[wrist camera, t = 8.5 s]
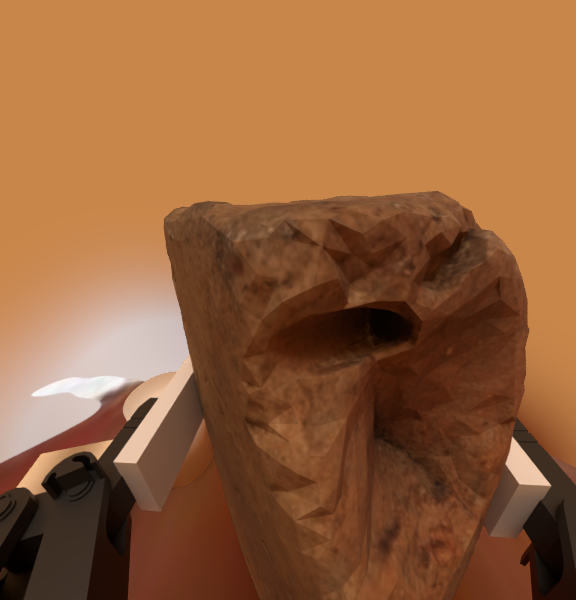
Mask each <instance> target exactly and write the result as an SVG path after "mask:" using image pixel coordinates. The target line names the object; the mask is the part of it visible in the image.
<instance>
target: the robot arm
mask: <svg viewBox="0 0 576 600" xmlns="http://www.w3.org/2000/svg"><path fill="white" fill-rule="evenodd" d="M203 418H204V415H203V411H202V406H201V402H200V397H199V393H198V389H197V385H196V381H195V376H194V371H193V367H192V362H191V358H190V355H189V356H188V357H187V359H186V360H185V362H184V363H183V364H182V366H181V367H180V369H179V370H178V371H177V373H176V374H175V376H174V377H173V378H172V380H171V381H170V383H169V384H168V386H167V387H166V388H165V390H164V391H163V393H162V394H161V395H160V397H159V398H149V399H148V400H147V401H145V402H144V403H143V404H142V405H140V406H139V407H138V408H137V410H136V411H135V412H134V414H133V415H132V416H131V418H130V420H128V421H127V423H126V424H125V425H124V428H123V429H121V431H120V432H119V433H118V435H117V436H116V437H115V438H114V440H113V441H112V442H111V444H110V445H109V446H108V448H107V449H106V450H105V451H104V453H103V454H102V455H101V457H100V458H99V459H98V460H97V458H96V457H95V455H94V454H92V453H91V452H86V451H83V452H79V453H75V454H73V455H71V456H69V457H67V458H65V459H64V460H62V461H61V462H60V463H58V464H57V465H56V466H54V467H53V468H52V470H51V471H50V472H49V473H48V474H47V475H46V476H45V478H44V480H43V482H42V483H41V485H42V486H43V488H44V489H45V490H46V491H47V492H43V493H40V494H36V495H33V494H32V493H31V491H30V490H28V489H27V488H25V487H21V488H15V489H12V490H10V491H7V492H5V493H3V494H2V495H0V572H1V570H2V569H3V567H4V569H3V570H2V572H1V574H0V600H128V582H129V562H130V542H131V522H132V520H131V514H130V511H131V509H132V507H133V505H134V503H135V501H136V503H137V504H138V506H139V508H140V510H147V511H160V512H161V510H162V508H163V506H164V504H165V501H166V499H167V497H168V495H169V493H170V490H171V488H172V486H173V484H174V482H175V480H176V477H177V475H178V473H179V471H180V469H181V466H182V464H183V462H184V460H185V458H186V455H187V453H188V451H189V449H190V447H191V444H192V442H193V440H194V438H195V436H196V434H197V431H198V429H199V427H200V425H201V423H202V420H203ZM483 524H484V526H485V528H486V530H487V532H488V534H489V536H494V537H507V538H517V536H518V535H519V534H520V532H521V531H522V529H523V528H524V530H525V532H526V533H527V535H528V537H529V538H530V540H531V542H532V543H531V544H530V546H529V547H528V548H527V550H526V551H525V552H524V554H523V555H522V557H521V562H520V564H522V565H524V566H526V565H527V563H528V562H529V561H530V572H531V585H532V598H533V600H576V485H575V484H574V483H573V482H572V481H571V479H570V478H569V477H568V476H567V475H566V474H565V472H564V471H563V470H562V469H561V468H560V467H559V466H558V464H557V463H556V462H555V461H554V460H553V459H552V458H551V456H550V455H549V454H548V453H547V452H546V451H545V450H544V448H542V446H541V445H539V444H538V442H537V440H536V439H535V438H534V437H533V436H532V435H531V434H530V433H528V430H527V429H526V428H525V427H524V425H523V424H522V423H521V422H520V421H519V420H518V419H517V417H516V420H515V424H514V430H513V436H512V441H511V447H510V452H509V455H508V458H507V461H506V463H505V466H504V469H503V472H502V475H501V479H500V483H499V486H498V488H497V490H496V492H495V494H494V496H493V498H492V501H491V504H490V506H489V509H488V512H487V514H486V517H485V520H484V523H483Z"/></svg>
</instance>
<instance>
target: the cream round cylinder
mask: <svg viewBox="0 0 576 600" xmlns="http://www.w3.org/2000/svg"><path fill="white" fill-rule="evenodd" d="M176 373H177V372H169V373H165V374H162V375H158V376H156V377H153V378H151V379H149V380H147V381H146V382H144V383H142V384H141V385H140V386H138V387H137V388H136V389H135V390H134V391H133V392H132V393H131V394H130V395H129V396H128V398H127V399H126V401H125V403H124V406H123V413H124V416H125V418H126V420H127V421H128V420H130V418H131V416H132V415H133V414H134V412H135V411H136V410H137V408H138V407H139V406H140V405H142V404H143V403H144V402H145V401H147V400H148V399H149V398H159V397H160V395H161V394H162V393H163V391H164V390H165V388H166V387H167V386H168V384H169V383H170V381H171V380H172V378H173V377H174V376H175V374H176ZM212 456H213V449H212V445H211V442H210V438H209V435H208V431H207V427H206V423H205V419H204V418H203V420H202V423H201V425H200V427H199V429H198V431H197V434H196V436H195V438H194V440H193V442H192V444H191V447H190V449H189V451H188V453H187V455H186V458H185V460H184V462H183V464H182V466H181V469H180V471H179V473H178V475H177V477H176V480H175V482H174V484H173V486H172V488H179V487H182V486H185V485H187V484H189V483H191V482H193V481H194V480H196V479H197V478H198V477H199V476H200V475H201V474H202V473H203V472H204V471H205V470H206V468H207V467H208V465H209V464H210V462H211V459H212Z"/></svg>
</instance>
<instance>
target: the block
mask: <svg viewBox="0 0 576 600" xmlns="http://www.w3.org/2000/svg"><path fill="white" fill-rule="evenodd" d="M164 232H165V240H166V247H167V253H168V256H169V258H170V262H171V269H172V277H173V278H172V279H173V283H174V286H175V291H176V294H177V299H178V302H179V306H180V309H181V314H182V320H183V325H184V330H185V335H186V339H187V344H188V349H189V353H190V358H191V362H192V367H193V371H194V376H195V381H196V385H197V389H198V393H199V397H200V402H201V406H202V411H203V415H204V419H205V423H206V427H207V431H208V435H209V438H210V442H211V445H212V449H213V453H214V457H215V461H216V465H217V469H218V472H219V476H220V479H221V483H222V486H223V490H224V493H225V497H226V501H227V504H228V508H229V511H230V514H231V518H232V521H233V525H234V528H235V531H236V534H237V537H238V540H239V544H240V547H241V550H242V553H243V556H244V559H245V561H246V564H247V567H248V570H249V573H250V575H251V578H252V581H253V583H254V586H255V588H256V591H257V594H258V596H259V599H260V600H453V598H454V596H455V593H456V591H457V589H458V587H459V585H460V582H461V580H462V578H463V575H464V573H465V571H466V568H467V566H468V563H469V561H470V559H471V556H472V554H473V551H474V548H475V544H476V541H477V540H478V538H479V535H480V532H481V530H482V527H483V523H484V520H485V517H486V514H487V512H488V509H489V506H490V504H491V501H492V498H493V496H494V494H495V492H496V490H497V488H498V486H499V483H500V479H501V475H502V472H503V469H504V466H505V463H506V461H507V458H508V455H509V452H510V447H511V441H512V436H513V430H514V424H515V420H516V416H517V413H518V410H519V407H520V404H521V400H522V397H523V393H524V379H525V375H526V362H525V361H526V358H525V346H526V342H527V338H528V334H529V328H528V325H527V297H526V292H525V288H524V283H523V279H522V276H521V273H520V270H519V267H518V265H517V262H516V259H515V257H514V255H513V254H512V253H511V251H510V250H509V248H508V247H507V246H506V245H505V243H504V242H503V241H502V240H501V239H500V238H499V237H498V236H497V235H496V234H495V233H494V232H493V231H489V230H482V229H481V228H480V227H479V225H478V224H477V223H476V222H475V219H474V217H473V214H472V211H470V210H468V209H467V208H465V207H463V206H461V205H460V204H459V203H458V202H457V201H455V200H453V199H452V198H450V197H448V196H447V195H445V194H443V193H441V192H438V191H432V192H420V193H407V194H395V195H385V196H375V197H368V196H340V197H333V198H328V199H323V200H302V201H292V202H290V203H266V204H256V205H232V204H230V203H227V202H214V201H206V202H201V203H195V204H193V205H192V206H190V207H181V208H177V209H174V210H173V211H172V212H171V213H170V214H169V215H168V216H166V217H165V218H164Z"/></svg>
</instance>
